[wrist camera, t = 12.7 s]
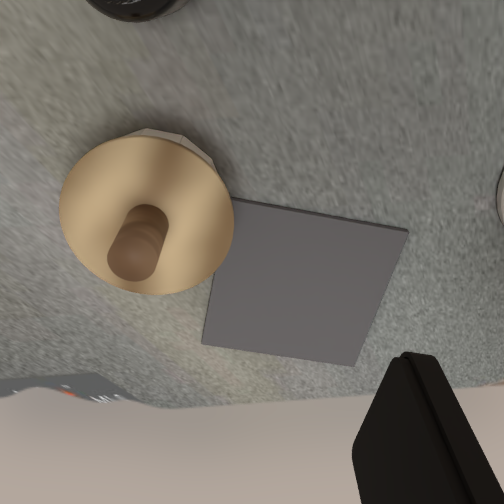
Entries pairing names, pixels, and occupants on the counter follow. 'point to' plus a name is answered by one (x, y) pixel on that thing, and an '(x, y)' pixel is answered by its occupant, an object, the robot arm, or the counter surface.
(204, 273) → the lid
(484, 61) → the counter surface
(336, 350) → the mat
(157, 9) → the supplement bottle
